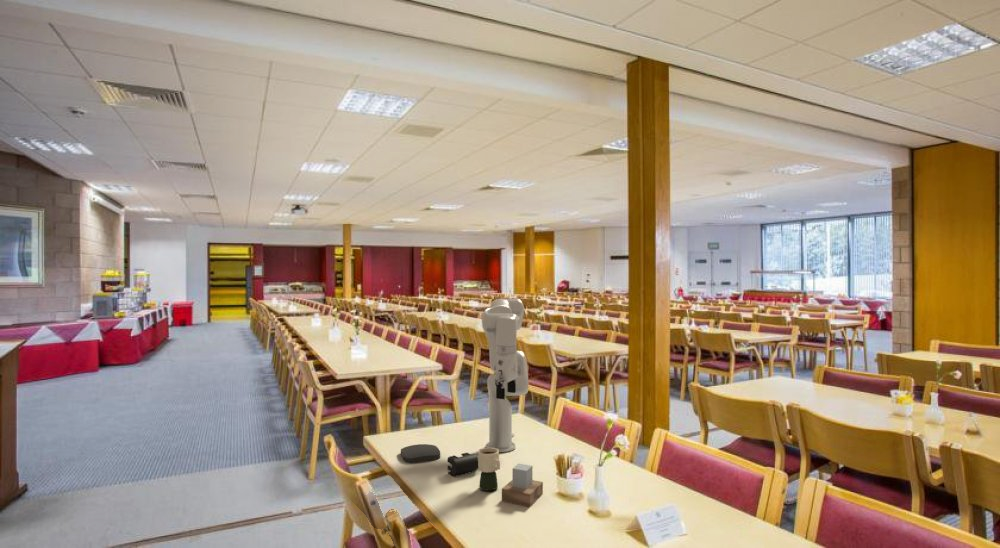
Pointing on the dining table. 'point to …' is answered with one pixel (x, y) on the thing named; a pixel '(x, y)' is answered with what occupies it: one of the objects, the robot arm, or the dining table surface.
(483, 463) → the character mug
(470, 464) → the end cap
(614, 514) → the dining table surface
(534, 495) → the block
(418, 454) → the media streaming box
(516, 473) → the grey block
